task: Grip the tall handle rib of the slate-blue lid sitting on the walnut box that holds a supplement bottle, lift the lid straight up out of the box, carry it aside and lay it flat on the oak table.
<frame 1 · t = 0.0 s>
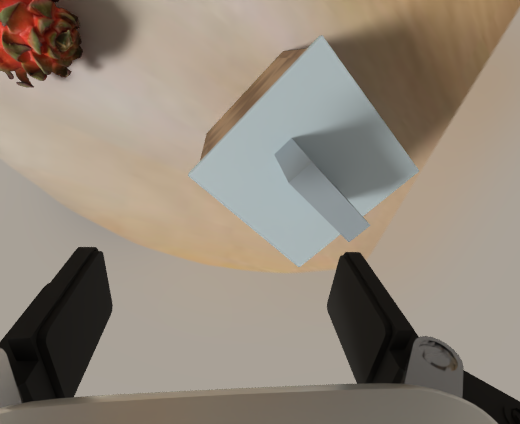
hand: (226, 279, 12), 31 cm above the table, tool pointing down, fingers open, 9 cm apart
dragon fruit: (43, 39, 33), on the table
lid: (306, 170, 27), point 15 cm above the table, touching crate
crate: (279, 132, 40), on the table
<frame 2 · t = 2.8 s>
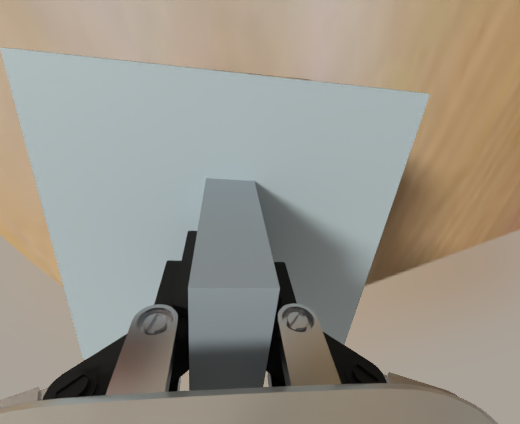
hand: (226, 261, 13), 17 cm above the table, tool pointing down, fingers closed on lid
lid: (226, 240, 14), point 16 cm above the table, touching gripper
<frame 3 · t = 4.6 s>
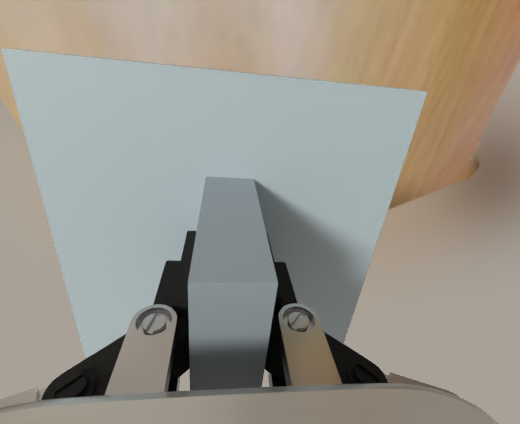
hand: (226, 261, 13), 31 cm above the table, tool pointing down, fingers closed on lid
lid: (226, 237, 14), point 29 cm above the table, touching gripper
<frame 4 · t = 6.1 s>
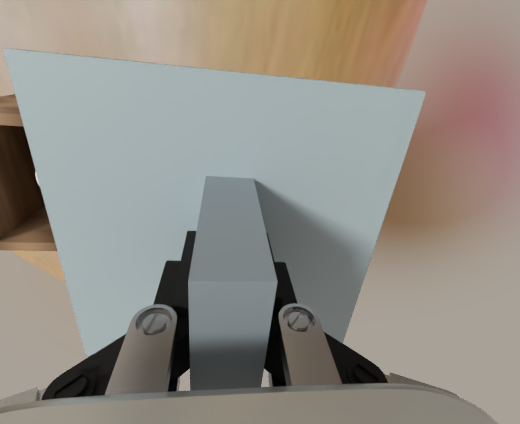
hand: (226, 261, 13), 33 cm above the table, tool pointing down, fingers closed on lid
lid: (226, 237, 15), point 31 cm above the table, touching gripper
crate: (105, 147, 41), on the table
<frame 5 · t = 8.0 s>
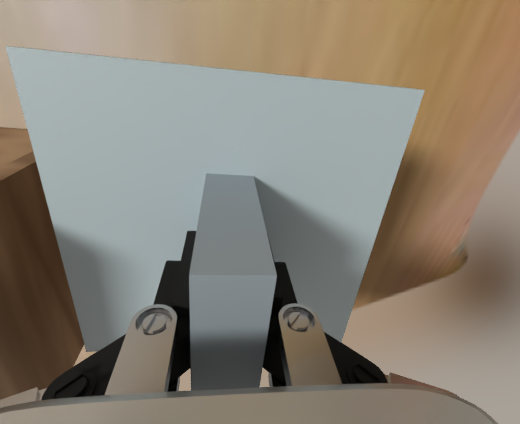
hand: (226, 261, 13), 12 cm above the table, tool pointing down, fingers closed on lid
lid: (226, 234, 15), point 9 cm above the table, touching gripper
crate: (7, 216, 23), on the table
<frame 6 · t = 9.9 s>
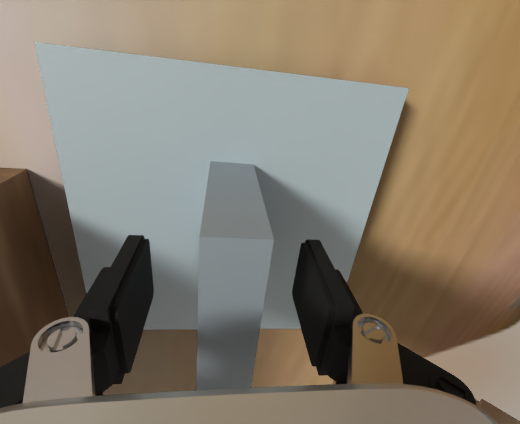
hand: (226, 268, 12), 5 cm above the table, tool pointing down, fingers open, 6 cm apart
lid: (227, 220, 16), point 1 cm above the table
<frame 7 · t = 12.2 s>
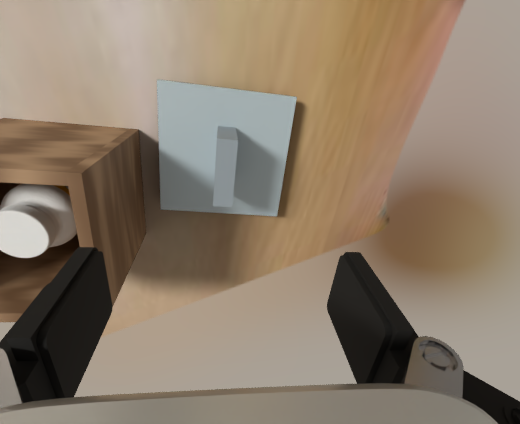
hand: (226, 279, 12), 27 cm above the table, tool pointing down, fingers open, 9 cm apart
supplement bottle: (83, 181, 36), resting in crate
lid: (224, 154, 35), point 1 cm above the table
crate: (83, 182, 36), on the table
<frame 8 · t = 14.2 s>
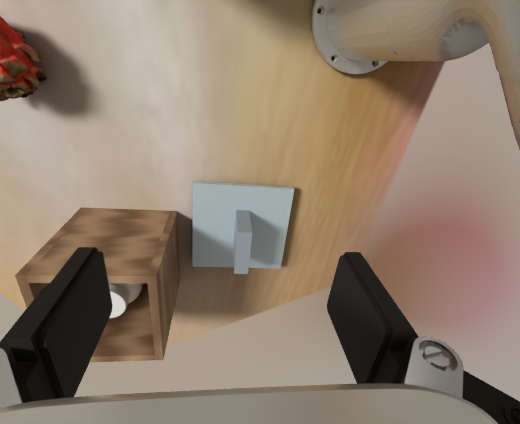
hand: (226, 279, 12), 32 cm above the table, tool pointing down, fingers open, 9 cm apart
supplement bottle: (134, 246, 48), resting in crate
dragon fruit: (4, 52, 34), on the table
lid: (240, 227, 47), point 1 cm above the table
crate: (134, 247, 48), on the table
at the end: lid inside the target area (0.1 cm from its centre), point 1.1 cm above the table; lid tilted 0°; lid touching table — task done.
